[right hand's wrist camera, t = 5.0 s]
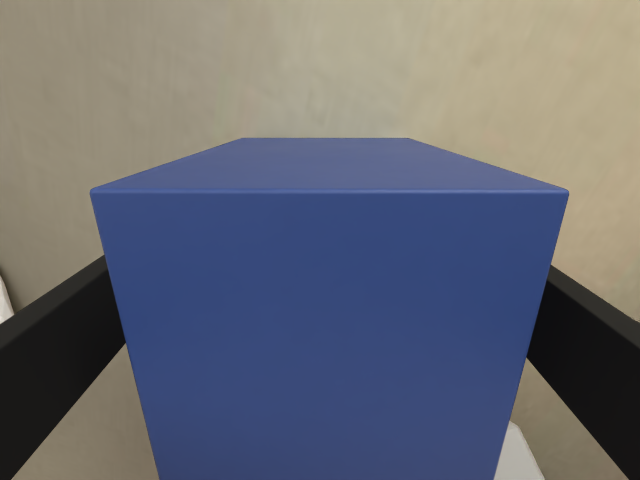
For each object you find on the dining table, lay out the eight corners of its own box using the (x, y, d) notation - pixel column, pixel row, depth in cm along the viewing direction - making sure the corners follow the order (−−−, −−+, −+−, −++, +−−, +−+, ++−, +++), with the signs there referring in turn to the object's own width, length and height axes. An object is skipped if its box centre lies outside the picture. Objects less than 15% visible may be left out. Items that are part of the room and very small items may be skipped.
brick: (253, 303, 20) (171, 533, 9) (240, 137, 16) (85, 188, 6) (394, 303, 20) (480, 537, 9) (409, 137, 16) (573, 189, 6)
